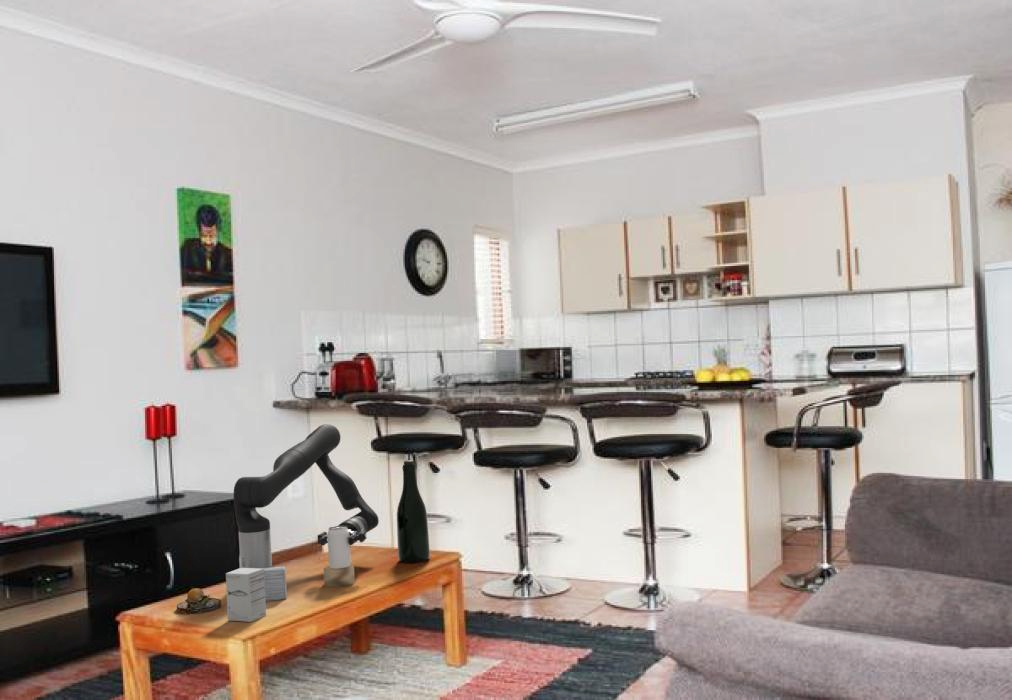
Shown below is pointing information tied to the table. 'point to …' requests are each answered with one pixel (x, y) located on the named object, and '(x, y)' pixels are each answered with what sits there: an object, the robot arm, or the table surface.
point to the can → (339, 547)
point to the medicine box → (275, 583)
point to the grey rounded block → (339, 577)
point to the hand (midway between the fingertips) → (335, 541)
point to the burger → (198, 603)
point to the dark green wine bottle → (412, 520)
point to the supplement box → (245, 594)
